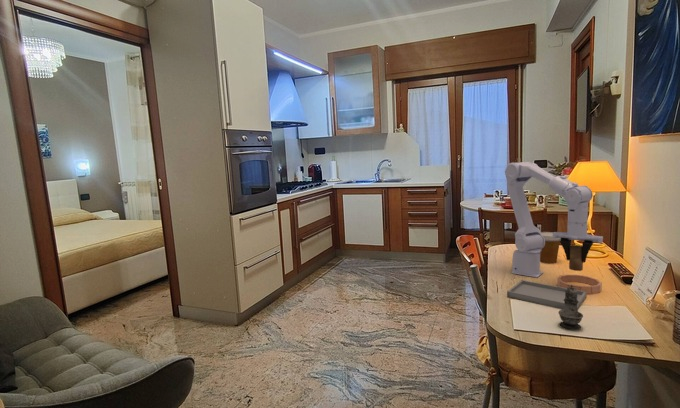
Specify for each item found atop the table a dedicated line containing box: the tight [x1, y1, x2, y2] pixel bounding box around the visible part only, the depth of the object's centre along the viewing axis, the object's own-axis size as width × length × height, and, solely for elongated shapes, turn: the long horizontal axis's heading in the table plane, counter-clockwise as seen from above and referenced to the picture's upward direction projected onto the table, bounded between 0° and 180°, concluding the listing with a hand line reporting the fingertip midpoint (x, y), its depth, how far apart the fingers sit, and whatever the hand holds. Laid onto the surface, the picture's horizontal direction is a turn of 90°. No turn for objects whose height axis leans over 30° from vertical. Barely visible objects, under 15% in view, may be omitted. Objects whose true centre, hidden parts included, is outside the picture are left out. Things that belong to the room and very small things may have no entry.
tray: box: [506, 279, 587, 311], centre depth 126 cm, size 20×14×2 cm
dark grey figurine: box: [558, 284, 584, 331], centre depth 105 cm, size 6×6×12 cm
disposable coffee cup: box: [540, 231, 561, 264], centre depth 163 cm, size 10×10×12 cm
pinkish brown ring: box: [556, 274, 603, 295], centre depth 133 cm, size 13×13×2 cm
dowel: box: [568, 244, 584, 272], centre depth 131 cm, size 4×4×8 cm
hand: (576, 260), depth 131 cm, fingers closed on dowel, 4 cm apart
